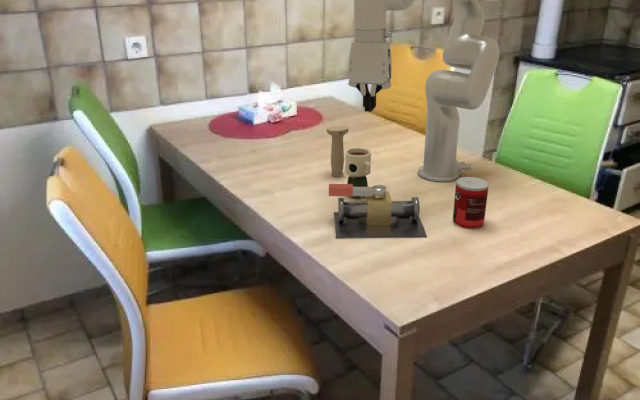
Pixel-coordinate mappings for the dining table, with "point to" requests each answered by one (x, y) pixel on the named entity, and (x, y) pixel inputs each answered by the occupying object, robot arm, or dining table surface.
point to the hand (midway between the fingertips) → (369, 110)
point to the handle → (337, 149)
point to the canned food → (470, 202)
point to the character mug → (358, 166)
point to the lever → (357, 190)
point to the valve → (378, 218)
